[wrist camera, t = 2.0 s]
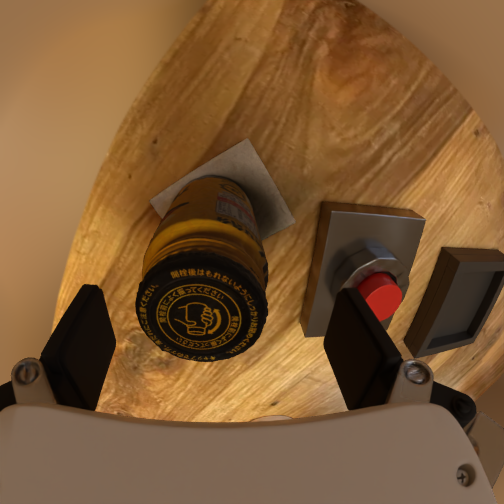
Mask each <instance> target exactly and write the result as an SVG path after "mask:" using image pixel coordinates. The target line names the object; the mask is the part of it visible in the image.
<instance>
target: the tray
mask: <svg viewBox="0 0 504 504" xmlns="http://www.w3.org/2000/svg"><path fill="white" fill-rule="evenodd" d="M503 286H504V254H503V253H502V252H500V251H499V250H489V249H468V248H446V247H442V250H441V253H440V256H439V259H438V262H437V264H436V267H435V270H434V273H433V275H432V278H431V280H430V283H429V286H428V288H427V291H426V293H425V295H424V298H423V300H422V303H421V305H420V307H419V309H418V312H417V314H416V316H415V318H414V320H413V323H412V325H411V327H410V329H409V331H408V333H407V335H406V337H405V339H404V343H405V344H406V346H407V348H408V349H409V351H410V352H411V354H412V356H413V357H414V359H415V358H420V357H424V356H428V355H432V354H436V353H440V352H444V351H447V350H451V349H455V348H458V347H462V346H465V345H468V344H471V343H473V342H474V341H475V339H476V337H477V336H478V334H479V332H480V331H481V329H482V327H483V325H484V324H485V322H486V320H487V318H488V316H489V314H490V312H491V311H492V309H493V307H494V305H495V303H496V301H497V298H498V296H499V294H500V292H501V290H502V288H503Z"/></svg>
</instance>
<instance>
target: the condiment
mask: <svg viewBox="0 0 504 504" xmlns="http://www.w3.org/2000/svg"><path fill="white" fill-rule="evenodd" d="M149 202H150V203H151V205H152V206H153V207H154V209H155V210H156V212H157V213H158V214H159V215H160V217H161V218H162V221H161V223H160V225H159V227H158V228H157V230H156V232H155V233H154V236H153V238H152V239H151V241H150V244H149V246H148V248H147V250H146V253H145V256H144V261H143V269H142V282H140V284H139V289H138V292H137V297H136V303H135V307H136V314H137V317H138V320H139V323H140V326H141V328H142V329H143V331H144V332H145V333H146V335H147V336H148V337H149V338H150V339H151V340H152V341H153V342H154V343H155V344H156V345H157V346H159V348H160V349H161V350H162V351H166V352H169V353H170V354H172V355H174V356H176V357H179V358H182V359H187V360H193V361H199V362H213V361H218V360H224V359H229V358H231V357H234V356H236V355H238V354H240V353H243V352H245V351H246V350H247V349H248V348H250V347H251V346H252V345H254V343H255V342H256V341H257V339H258V338H259V337H260V335H261V333H262V329H263V326H264V324H265V323H266V317H267V316H268V308H267V306H268V302H267V299H266V293H265V291H266V287H267V283H268V263H267V260H266V257H265V252H264V249H263V246H262V242H261V241H262V240H264V239H266V238H268V237H269V236H271V235H273V234H275V233H276V232H278V231H281V230H283V229H285V228H287V227H288V226H290V225H292V224H294V223H295V222H296V221H295V219H294V217H293V216H292V214H291V212H290V210H289V208H288V207H287V205H286V203H285V201H284V199H283V198H282V196H281V194H280V192H279V191H278V189H277V187H276V185H275V184H274V182H273V180H272V178H271V177H270V175H269V173H268V171H267V170H266V168H265V166H264V165H263V163H262V161H261V159H260V158H259V156H258V154H257V153H256V151H255V149H254V147H253V146H252V144H251V142H250V141H249V139H248V138H247V139H245V140H243V141H242V142H240V143H238V144H237V145H235V146H233V147H231V148H230V149H228V150H226V151H225V152H223V153H221V154H220V155H218V156H216V157H215V158H213V159H211V160H210V161H208V162H206V163H205V164H203V165H202V166H200V167H198V168H197V169H195V170H194V171H192V172H190V173H189V174H187V175H186V176H184V177H183V178H181V179H180V180H178V181H177V182H175V183H174V184H172V185H171V186H169V187H168V188H166V189H165V190H163V191H162V192H160V193H159V194H158V195H156V196H155V197H153V198H152V199H151V200H149Z"/></svg>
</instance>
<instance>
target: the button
mask: <svg viewBox="0 0 504 504" xmlns="http://www.w3.org/2000/svg"><path fill="white" fill-rule="evenodd" d="M357 289H358V290H359V292H360V293H361V295H362V296H363V298H364V299H365V300H366V302H367V303H368V305H369V306H370V308H371V309H372V311H373V312H374V314H375V315H376V317H377V318H378V320H379V321H382V320H385V319H387V318H388V317H390V316H391V315H392V314H393V313H394V312H395V311H396V310H397V309H398V307H399V305H400V303H401V300H402V292H401V289H400V288H399V287H398V286H397V284H396V283H395V282H394V281H393V280H392V279H391V277H390V276H389V275H387V274H385V273H375V274H372V275H370V276H368V277H366V278H365V279H364V280H363V281H362V282H361V283H360V284H359V285H358V287H357Z"/></svg>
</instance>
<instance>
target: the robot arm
mask: <svg viewBox="0 0 504 504" xmlns="http://www.w3.org/2000/svg"><path fill="white" fill-rule="evenodd" d="M115 347H116V338H115V335H114V332H113V328H112V325H111V321H110V318H109V314H108V310H107V306H106V303H105V299H104V294H103V291H102V289H99V287H98V286H97V285H89V284H84V285H83V286H82V287H81V289H80V290H79V292H78V293H77V295H76V296H75V298H74V299H73V301H72V302H71V304H70V306H69V307H68V309H67V310H66V312H65V313H64V315H63V317H62V318H61V320H60V322H59V323H58V325H57V327H56V328H55V330H54V332H53V333H52V335H51V337H50V339H49V340H48V342H47V344H46V346H45V348H44V349H43V351H42V353H41V357H40V359H39V360H38V359H36V358H25V359H22V360H21V361H19V362H18V363H17V364H16V365H15V366H14V368H13V369H12V373H11V379H12V380H11V381H9V382H7V383H5V384H3V385H1V386H0V504H497V502H496V499H495V496H494V493H493V491H492V488H493V486H494V484H495V482H496V480H497V478H498V476H499V474H500V472H501V469H502V467H503V465H504V428H503V427H501V426H500V425H499V424H497V423H496V422H495V421H493V420H492V419H491V418H489V417H488V416H486V415H485V414H484V413H482V412H481V411H480V412H479V413H477V412H476V405H475V403H474V401H473V400H472V399H471V398H470V397H469V396H468V395H466V394H464V393H461V392H459V391H456V390H454V389H452V388H449V387H447V386H444V385H442V384H440V383H437V382H435V381H433V379H434V377H433V372H432V370H431V368H430V367H429V366H428V365H427V364H426V363H424V362H422V361H420V360H416V359H408V360H405V361H403V359H402V358H401V356H402V355H401V354H400V352H399V351H398V349H397V348H396V346H395V344H394V343H393V341H392V340H391V338H390V337H389V335H388V333H387V332H386V330H385V329H384V327H383V326H382V324H381V323H380V321H379V320H378V318H377V317H376V315H375V314H374V312H373V311H372V309H371V308H370V306H369V305H368V303H367V302H366V300H365V299H364V298H363V296H362V295H361V293H360V292H359V290H358V289H357V288H342V290H341V292H338V293H337V295H336V299H335V303H334V306H333V310H332V314H331V317H330V321H329V324H328V328H327V331H326V335H325V338H324V349H325V352H326V354H327V357H328V359H329V362H330V364H331V367H332V369H333V372H334V375H335V377H336V380H337V382H338V385H339V387H340V390H341V393H342V395H343V398H344V401H345V403H346V406H347V408H348V410H350V411H345V412H339V413H333V414H326V415H319V416H312V417H304V418H295V419H285V420H273V421H257V422H223V423H215V422H182V421H166V420H154V419H144V418H136V417H128V416H121V415H114V414H108V413H101V412H96V411H95V409H96V407H97V403H98V400H99V396H100V393H101V390H102V387H103V383H104V380H105V377H106V374H107V371H108V368H109V365H110V362H111V359H112V356H113V353H114V350H115Z"/></svg>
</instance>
